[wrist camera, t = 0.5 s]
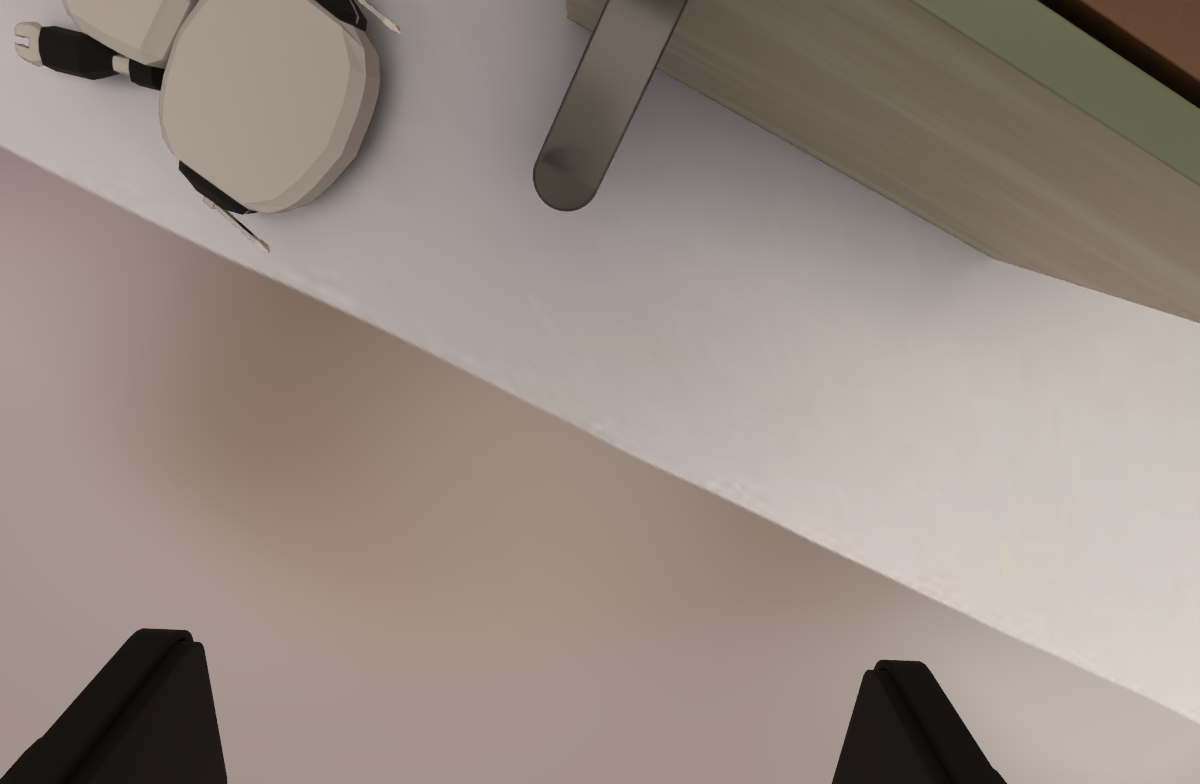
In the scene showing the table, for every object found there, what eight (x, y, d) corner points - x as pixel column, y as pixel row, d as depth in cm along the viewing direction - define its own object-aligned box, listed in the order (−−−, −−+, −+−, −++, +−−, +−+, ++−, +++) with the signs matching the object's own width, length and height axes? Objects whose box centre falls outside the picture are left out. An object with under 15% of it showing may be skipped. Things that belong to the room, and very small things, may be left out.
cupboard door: (925, 356, 39) (1385, 660, 17) (513, 143, 34) (386, 167, 12) (1005, 242, 37) (1665, 418, 14) (576, -4, 32) (564, -319, 10)
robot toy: (51, 64, 33) (310, 252, 36) (-34, 48, 29) (268, 263, 32) (157, -175, 30) (435, 51, 33) (79, -233, 26) (406, 33, 28)
